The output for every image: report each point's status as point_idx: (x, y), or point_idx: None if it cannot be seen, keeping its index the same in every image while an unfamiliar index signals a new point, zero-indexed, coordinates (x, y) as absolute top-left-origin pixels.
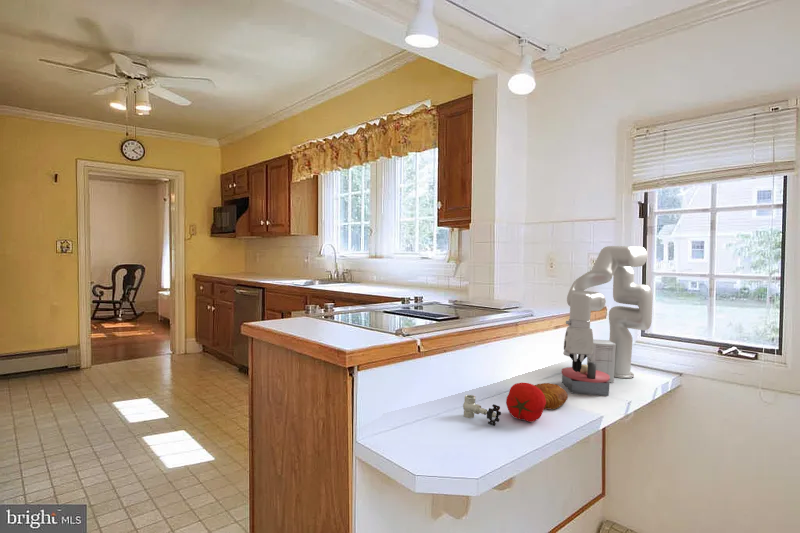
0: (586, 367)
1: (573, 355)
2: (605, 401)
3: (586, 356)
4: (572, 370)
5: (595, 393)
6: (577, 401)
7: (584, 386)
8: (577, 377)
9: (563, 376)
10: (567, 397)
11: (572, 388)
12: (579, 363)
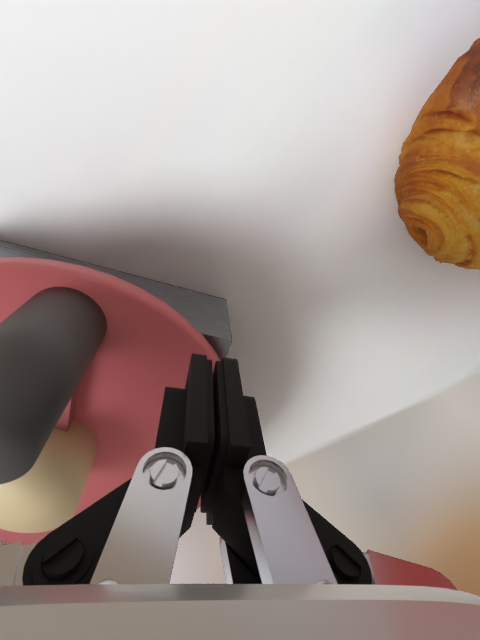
0: (37, 467)
1: (325, 564)
2: (61, 110)
3: (35, 555)
4: None
5: (70, 262)
6: (292, 141)
7: None
8: (198, 344)
9: None
10: (465, 57)
11: (225, 312)
12: (208, 422)
